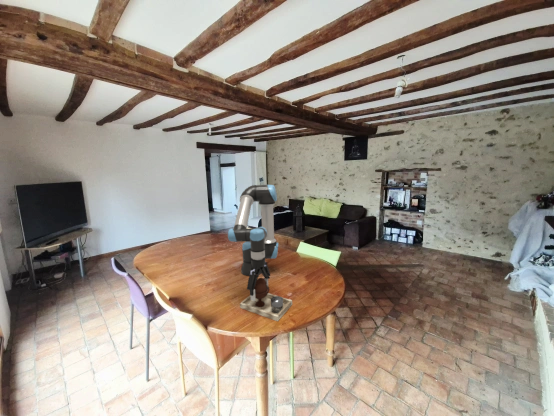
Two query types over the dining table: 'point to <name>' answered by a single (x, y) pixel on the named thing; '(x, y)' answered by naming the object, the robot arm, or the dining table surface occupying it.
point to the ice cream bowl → (260, 291)
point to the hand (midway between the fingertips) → (259, 294)
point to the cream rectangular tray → (265, 307)
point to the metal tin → (276, 304)
